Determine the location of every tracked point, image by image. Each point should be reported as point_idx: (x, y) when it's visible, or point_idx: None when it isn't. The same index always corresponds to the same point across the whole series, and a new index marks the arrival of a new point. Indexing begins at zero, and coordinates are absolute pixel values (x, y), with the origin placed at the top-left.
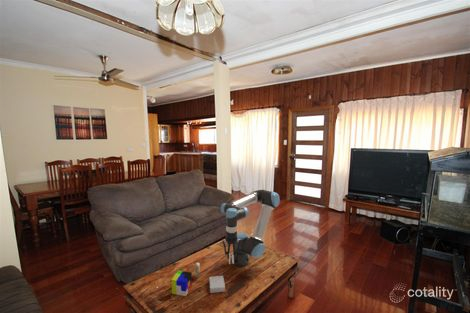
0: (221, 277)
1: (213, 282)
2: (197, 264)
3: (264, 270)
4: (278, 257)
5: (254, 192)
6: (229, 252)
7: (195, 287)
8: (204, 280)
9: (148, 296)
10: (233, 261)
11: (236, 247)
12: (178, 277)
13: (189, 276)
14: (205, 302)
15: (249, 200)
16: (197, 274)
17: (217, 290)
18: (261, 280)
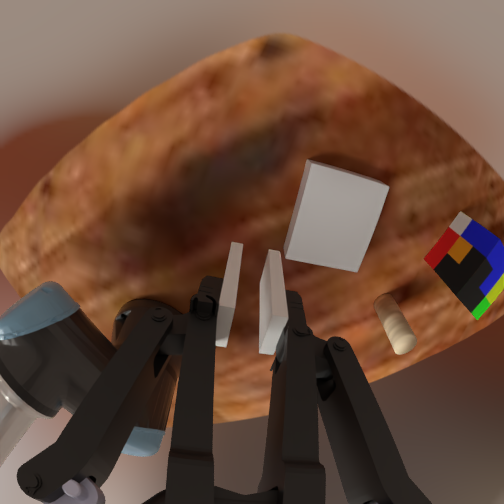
0: (300, 247)
1: (357, 225)
2: (406, 342)
3: (67, 237)
4: (21, 287)
5: None
6: (287, 351)
7: (417, 242)
8: (369, 271)
9: None
10: (232, 255)
11: (146, 396)
12: (499, 278)
13: (472, 272)
14: (415, 135)
15: None
16: (393, 304)
17: (349, 171)
18: (92, 175)
